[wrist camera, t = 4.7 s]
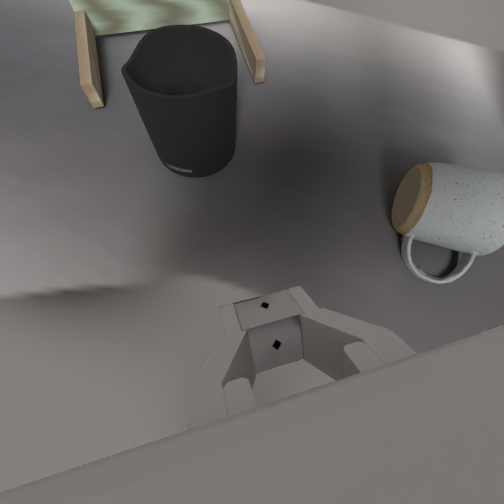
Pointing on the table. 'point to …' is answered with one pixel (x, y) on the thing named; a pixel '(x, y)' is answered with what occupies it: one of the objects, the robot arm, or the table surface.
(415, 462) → the robot arm
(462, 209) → the ceramic mug
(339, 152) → the table surface
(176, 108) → the pen holder
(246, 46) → the corral
